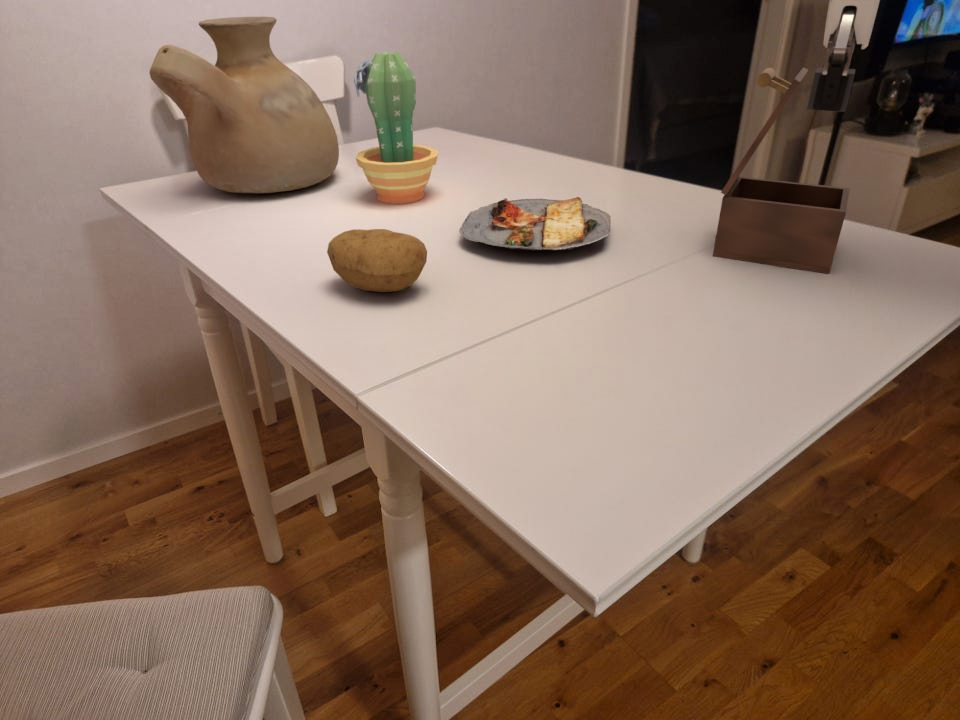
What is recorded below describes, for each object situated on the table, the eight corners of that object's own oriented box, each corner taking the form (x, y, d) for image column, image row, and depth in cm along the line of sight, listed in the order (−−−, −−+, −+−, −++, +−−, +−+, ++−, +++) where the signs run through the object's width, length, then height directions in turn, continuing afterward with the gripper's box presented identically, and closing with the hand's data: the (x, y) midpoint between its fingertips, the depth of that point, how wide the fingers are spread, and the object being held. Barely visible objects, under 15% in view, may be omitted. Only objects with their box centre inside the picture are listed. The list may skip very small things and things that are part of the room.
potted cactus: (406, 180, 135) (395, 46, 122) (458, 195, 125) (452, 51, 112) (343, 197, 125) (325, 54, 112) (394, 215, 116) (380, 60, 103)
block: (846, 105, 85) (855, 69, 83) (845, 111, 82) (854, 73, 80) (809, 103, 87) (817, 67, 85) (806, 109, 84) (815, 72, 81)
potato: (355, 268, 96) (348, 215, 92) (441, 282, 91) (438, 226, 87) (315, 295, 88) (306, 238, 84) (407, 312, 83) (402, 252, 79)
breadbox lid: (808, 69, 90) (775, 53, 91) (800, 82, 82) (764, 63, 82) (739, 174, 101) (710, 158, 102) (725, 195, 92) (694, 177, 93)
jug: (371, 175, 138) (354, 14, 123) (237, 220, 115) (194, 29, 100) (282, 157, 153) (256, 12, 138) (146, 195, 130) (97, 25, 114)
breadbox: (834, 245, 99) (849, 188, 95) (829, 273, 90) (846, 211, 86) (726, 231, 105) (736, 176, 101) (712, 255, 97) (722, 197, 92)
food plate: (480, 207, 119) (479, 187, 117) (610, 212, 115) (612, 192, 113) (448, 259, 98) (447, 237, 96) (607, 268, 94) (609, 244, 92)
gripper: (908, -66, 67) (858, 121, 77) (903, -62, 80) (861, 97, 89) (827, -63, 70) (789, 116, 80) (834, -60, 83) (801, 94, 92)
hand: (827, 104), depth 84 cm, fingers closed on block, 4 cm apart
